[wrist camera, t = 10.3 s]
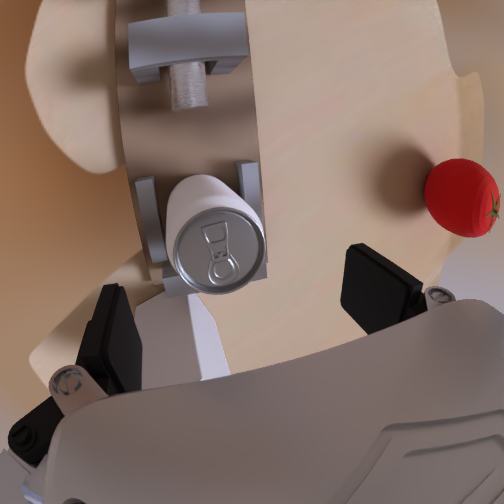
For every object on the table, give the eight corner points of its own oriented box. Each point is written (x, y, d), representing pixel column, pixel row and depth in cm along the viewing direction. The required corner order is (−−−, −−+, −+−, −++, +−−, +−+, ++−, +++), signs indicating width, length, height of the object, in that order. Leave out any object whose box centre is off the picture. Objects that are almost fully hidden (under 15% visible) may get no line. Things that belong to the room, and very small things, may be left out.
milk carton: (185, 277, 31) (213, 424, 14) (215, 319, 34) (259, 454, 17) (135, 305, 30) (126, 452, 14) (168, 343, 34) (185, 478, 17)
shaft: (155, -26, 15) (154, -68, 8) (204, -31, 16) (217, -72, 9) (161, 115, 22) (156, 105, 15) (215, 108, 23) (232, 96, 16)
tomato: (399, 197, 35) (470, 226, 24) (428, 138, 33) (499, 153, 21) (431, 231, 40) (489, 262, 28) (456, 180, 37) (514, 201, 26)
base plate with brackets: (119, -18, 15) (109, -55, 8) (237, -30, 18) (259, -66, 11) (153, 280, 30) (151, 322, 23) (264, 258, 33) (290, 292, 26)
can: (175, 243, 28) (182, 311, 17) (160, 182, 25) (152, 215, 14) (236, 228, 29) (277, 285, 18) (226, 167, 26) (265, 189, 16)
